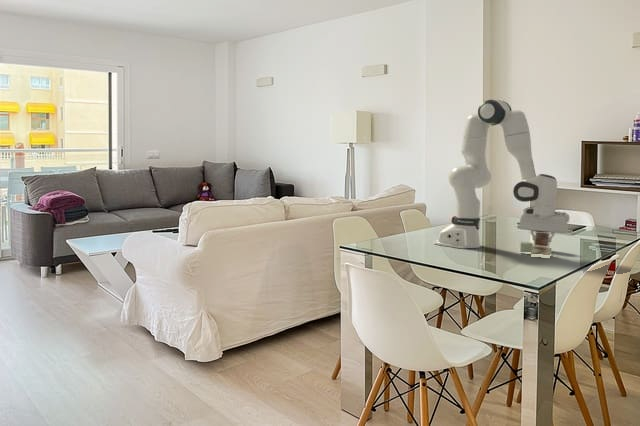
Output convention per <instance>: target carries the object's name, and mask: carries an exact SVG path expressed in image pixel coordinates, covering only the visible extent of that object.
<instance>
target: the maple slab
mask: <svg viewBox="0 0 640 426" xmlns="http://www.w3.org/2000/svg"><path fill="white" fill-rule="evenodd" d="M552 249H553V248H552V247H550V248H546V247H536V246H533V247H532V248H531V254H543V255H550V254H551V255H552Z"/></svg>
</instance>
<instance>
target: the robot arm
mask: <svg viewBox="0 0 640 426" xmlns="http://www.w3.org/2000/svg"><path fill="white" fill-rule="evenodd" d="M511 107H512V106H511V105H510V104H509V103H508V102H506V101H504V100H500V99H487V100H484V101H483V102H482V103H480V105H479V107H478V109H477V113H472V114H470V115H468V116H467V118H466V121H465V124H464V128H463V134H462V144H461V151H460V152H461V155H462V156H463V157H464V160H465V161H464V162H465V165H462V166H461V165H460V166H457V167H455V168H453V169H451V170H450V172H449V173H448V183H449V184H450V185H451V187H452V188H453V190H454V194H455V199H456V201H455V202H456V204H455V205H456V207H455V208H456V209H455V215H453V216H452V217H451V219H450V220H451V222H450V224H449V225H447V226H445V227H444V228H442V229H441V230H440V231H439V234H438V238H437V239H434V240H433V244H434V245H438V246H442V247H443V246H444V247H448V248H449V247H450V248H456V249H479V248H481V243H480V242H481V241H480V228H481V218H480V212H481V201H480V200H479V198H478V197H477V193H476V189H481V188H484V187H486V186H488V185H489V184H490V182H491V180H492V174H491V171H490V170H489V169H488V165H487V161H486V160H487V159H486V150H487V149H486V148H487V139H488V132H489V129H490V127H491V126H497V125H500V126H501V128H502V131H503V138H504V143H505V146H506V148H507V151H508V152H509V154H510V155H512V156H513V157H514V158H515V159H516V161H517V164H518V166H519V167H518V168H519V171H520V177H521V181H519V182H518V183H516V184H515V185H514V187H513V190H512V193H513V197H514V198H515V199H516V200H517V201H519V202H522V203H523V202H524V203H527V202H534V205H533V206H529V207H525V208H524V209H523V211H522V212H523V214H522V215H520V216H521V217H520V220H519V225H518V227H519V230H525V231H530V236H531V235H532V236H533V239H532V240H536V236H534V234H533V233H534V231H544V232H551V236H550V238H548V242H550V243H552V239H553V238H554V236H555V235H556V234H567V232H568V223H569V222H570V215H569V213H567V212H561V211H556V205H557V204H556V198H557V195H558V194H557V193H558V181H557V179H556V177H555V176H553V175H549V174H543V173H541V174H538V175H537V174H536V170H535V165H534V160H533V155H532V154H533V153H532V140H531V132H530V127H529V123H528V120H527V117H526V114H525V112H523V111H521V110H517V109H515V110H512V108H511Z"/></svg>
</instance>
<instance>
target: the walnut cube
mask: <svg viewBox="0 0 640 426" xmlns="http://www.w3.org/2000/svg"><path fill="white" fill-rule="evenodd" d="M548 238H549V234H548V233H538V232H537V233H536V240H535V245H541V246H547V245H548Z"/></svg>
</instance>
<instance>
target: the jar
mask: <svg viewBox="0 0 640 426" xmlns="http://www.w3.org/2000/svg"><path fill="white" fill-rule="evenodd" d="M537 232H538V233H548V234H549V238H550V237H551V236H552V235H551V232H544V231H534V233H533V234H534V236H536V233H537ZM529 237H530V239H529V242H531V243H532V244H533V246H536V247H546V248H549V247H550V245H551V242H548V245H547V246H541V245H535V240H532V239H533V236H532V235H531V234H530V235H529ZM533 246H532V247H533ZM550 248H551V247H550Z"/></svg>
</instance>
